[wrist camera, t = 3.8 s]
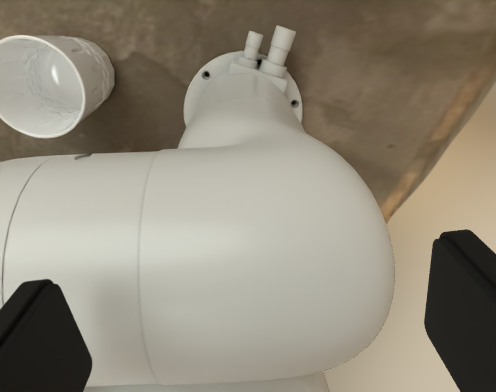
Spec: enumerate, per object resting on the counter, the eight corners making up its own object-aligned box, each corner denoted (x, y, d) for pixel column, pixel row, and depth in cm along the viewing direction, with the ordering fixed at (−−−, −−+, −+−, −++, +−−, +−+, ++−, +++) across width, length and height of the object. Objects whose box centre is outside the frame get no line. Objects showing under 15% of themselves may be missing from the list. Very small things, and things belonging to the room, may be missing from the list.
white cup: (37, 95, 39) (-23, 118, 30) (48, 17, 36) (-16, 18, 27) (112, 121, 40) (75, 151, 31) (129, 49, 37) (94, 59, 28)
